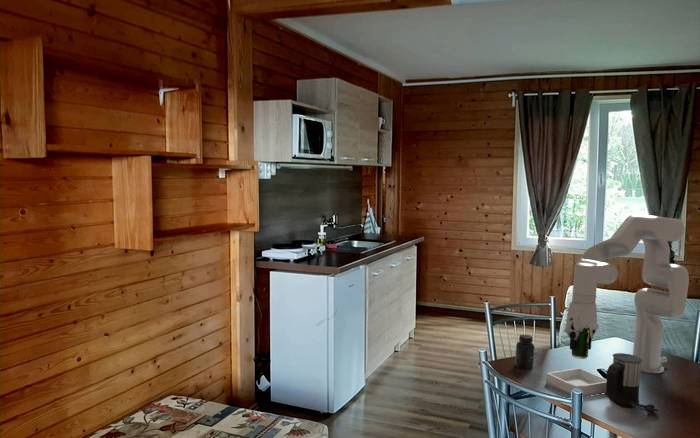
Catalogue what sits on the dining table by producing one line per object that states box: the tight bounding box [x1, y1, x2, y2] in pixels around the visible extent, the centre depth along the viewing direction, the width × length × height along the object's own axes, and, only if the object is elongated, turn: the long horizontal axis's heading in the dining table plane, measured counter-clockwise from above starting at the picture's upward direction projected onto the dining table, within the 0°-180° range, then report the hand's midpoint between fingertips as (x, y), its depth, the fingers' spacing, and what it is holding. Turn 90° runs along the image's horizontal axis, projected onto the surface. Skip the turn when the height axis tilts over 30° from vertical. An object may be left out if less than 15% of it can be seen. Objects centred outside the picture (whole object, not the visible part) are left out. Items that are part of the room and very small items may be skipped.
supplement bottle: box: [514, 334, 535, 370], centre depth 217 cm, size 7×7×12 cm
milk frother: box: [605, 352, 659, 414], centre depth 184 cm, size 14×16×15 cm
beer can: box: [571, 325, 590, 360], centre depth 196 cm, size 5×5×12 cm
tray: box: [545, 367, 607, 399], centre depth 197 cm, size 16×14×4 cm
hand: (580, 348), depth 196 cm, fingers closed on beer can, 5 cm apart
